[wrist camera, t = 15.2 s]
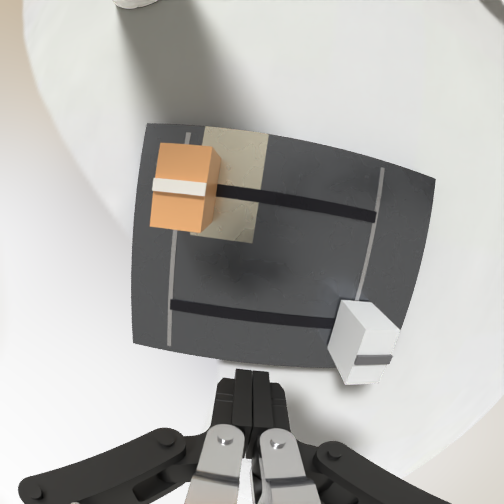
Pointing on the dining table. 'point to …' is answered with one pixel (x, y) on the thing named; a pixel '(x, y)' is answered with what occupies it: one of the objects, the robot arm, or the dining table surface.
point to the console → (275, 248)
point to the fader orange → (185, 187)
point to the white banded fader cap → (362, 342)
